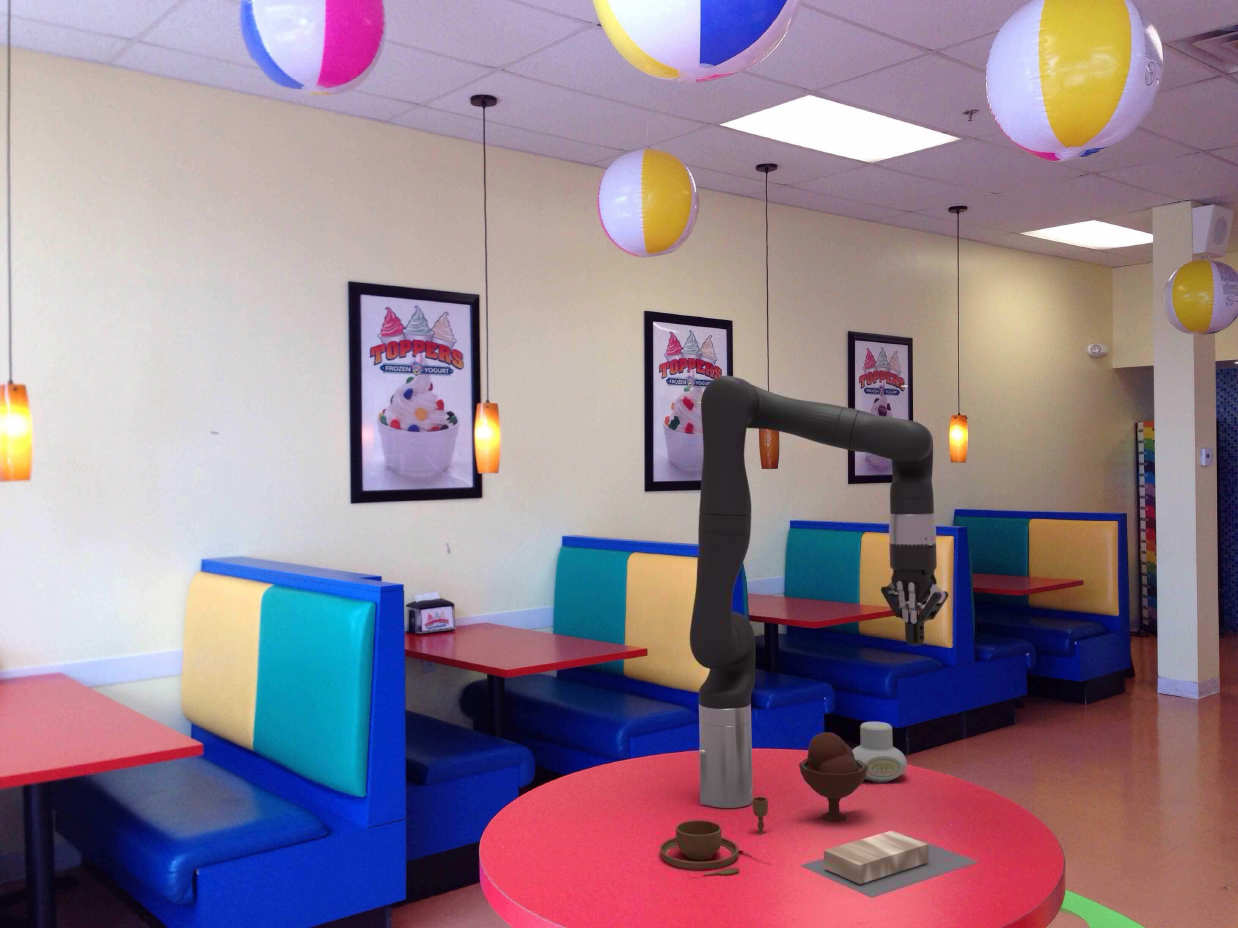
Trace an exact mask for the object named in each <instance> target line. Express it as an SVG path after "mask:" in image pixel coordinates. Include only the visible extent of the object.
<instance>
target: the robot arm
mask: <svg viewBox="0 0 1238 928" xmlns="http://www.w3.org/2000/svg"><path fill="white" fill-rule="evenodd" d="M700 414H701V428H702V432H701V433H702V445H703V447H702V449H703V450H702V451H703V455H702V456H703V457H702V470H701V477H700V478H701V479H700V492H699V493H700V497H699V509H698V510H699V511H698V531H697V532H698V535H697V536H698V539H697V540H698V541H697V542H698V543H697V545H698V547H697V561H696V562H697V564H696V584H695V595H694V600H693V601H694V602H693V608H692V613H691V614H692V615H691V621H690V628H689V646H690V650H691V654H692V656H693V657H694V659H695V661H696V662H697V664H699V665H701V666H702V667H703V668H704V669H705V668H706V669H709V672H708V674H707V677H706V679H705V681H704V682H703V683H702V684H701V686H700V687H699V691H698V721H699V723H698V724H699V725H698V726H699V750H698V765H699V767H698V768H699V770H698V771H699V773H698V774H699V777H698V778H699V804H700V805H701V806H702V805H703V806H709V807H712V808H713V807H714V808H719V809H720V808H721V809H735V808H742V807H745V806H748V805H751V804H753V798H754V795H753V793H754V788H753V787H754V786H753V783H754V782H753V747H752V745H753V740H752V707H751V706H752V703H751V702H752V701H751V698H752V693H753V690H754V687H755V682H756V636H755V632H754V629H753V625H752V624H751V622H750V621H749V619H748V618H747V617H746V616H744V615H743V614H742V613H740V612H738V611H737V612H736V611H733V596H734V590H735V586H736V583H737V579H738V576H739V573H740V571H741V568H742V567H743V564H744V561H745V558H746V556H747V552H748V549H749V547H750V542H751V541H750V540H751V535H752V534H751V530H752V499H751V491H750V483H749V479H748V474H747V469H746V463H745V462H746V461H745V447H746V435H747V429H754V430H755V429H758V430H759V429H760V430H768V431H776V432H781V433H785V434H789V435H793V436H796V437H799V438H803V439H805V440H809V441H811V442H814V443H818V444H820V445H821V444H822V445H826V446H828V447H833V448H838V449H843V450H847V451H853V452H856V453H857V452H858V453H868V454H870V455H875V456H878V457H881V458H885V459H888V460H891V473H892V474H891V476H892V477H891V478H892V481H891V483H890V489H889V508H890V509H889V511H890V514H889V516H890V517H889V525H888V526H889V527H888V537H889V541H888V543H889V545H888V546H889V567H890V569H892V571H893V572H892V575H891V578H890V580H891V581H890V582H889V584H888V585H887V586H882V587H881V588H880V592H881V594H882V596H883V597H884V599H885V601H886V603H887V605H888V606H889V608H890V609H891V611H892V613H893V614H894V616H895V617H896V618H900V619H901V620H902V621H903V623H904V632H905V633H904V635H905V636H904V638H905V642H906V644H907V646H912V647H918V646H922V645H923V643H924V641H925V623H926V622H928V621H932V620H934V619H935V617H936V616H937V615H938V613H939V611H940V610H941V609H942V607H943V605H944V604H945V602H946V601H947V600H948V598H949V593H948V592H947V590H944V591H943V590H941V588H940V587H939V586H938V585H937V584H938V582H937V581H938V580H937V578H936V576H935V570H936V569H937V567H938V566H937V565H938V562H937V561H938V559H937V528H936V527H937V526H936V520H935V511H934V510H935V509H934V508H935V504H934V503H935V501H934V500H935V499H934V488H933V470H934V469H933V468H934V467H933V465H934V464H933V463H934V439H933V435H932V433H931V432H930V430H929V429H928V428H927V427H926V426H925V425H923V424H921V423H919V422H918V421H914V420H909V419H904V418H898V417H891V416H886V415H885V416H884V415H876V414H873V413H871V412H867V411H865V410H860V409H856V408H852V407H846V406H842V405H836V404H830V403H825V402H818V401H810V400H809V401H808V400H805V399H804V400H803V399H797V398H793V397H788V396H785V395H780V394H778V393H774V392H772V391H768V390H766V389H763V388H761V387H759V386H756V385H754V384H752V383H750V382H749V381H747V380H745V379H743V378H739V377H737V376H732V375H721V376H718V377H716V378H713V379H712V380H711V381H710V382H709V383H708V384H707V385H706V387H705V388H704V390H703V392H702V395H701V399H700Z"/></svg>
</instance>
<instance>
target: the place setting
mask: <svg viewBox="0 0 1238 928" xmlns="http://www.w3.org/2000/svg"><path fill="white" fill-rule="evenodd" d="M768 801H769V799H768V798H767V797H765V796H755V797H754V796H753V801H752V810H753V811H752V812H753V814H754V816H756V817H758V818H757V820H758V821H757V828H758V830H757V832H756V834H757V833H758V834H757V835H765V834H766V832H765V831H764V828H765V823H764V818H765V817H767V815H768V811H769V802H768ZM722 836H723V834H722V826H721V825H720V824H718V823H717V822H715V821H710V820H704V819H694V820H693V819H692V820H685V821H682V822H680V823H679V824H677V825H676V826H675V837H671V838H669V839H666V840H665V841H663V842H662V843H661V844H660V846H659V849H660V850H659V852H660V856H661V858H662V859H663V861H665V862H666V863H667V864H668V865H670V864H671V866H673V867H676V866H677V867H676V868H679V867H680V868H679V869H683V868H685V869H684V870H690V869H710V870H713V869H712V868H717V869H720V868H719V867H721V868H722V869H720V870H717V871H713V872H708V873H702V874H703V875H702V874H701V875H702V876H704V877H708V876H714V875H719V874H721V875H720V876H731V875H733V874H737V873H738V872H739V871H740V868H739V867H727V866H728V865H731V864H732V863H733V862H735V861H736V859H737V857H738V856H739V846H738V844H737V843H736V842H734V841H732V840H731V839H729V838H726V837H722ZM677 846H678V847H677ZM720 846H722V847H725V848H726V849H728V850H729V851H730V852H731V854H732V855H731V854H730V855H729V856H727V857H724V858H722V859H716V860H710V861H704V860H709V859H711V858H713V855H714V854H716V853H717V852H718V851H719V850H720V849H721V848H720ZM674 847H677V849H679V850H680V852H682V853H683V854H685V856H686V857H687V858H688V859H690V858H691V860H694V859H696V860H695V861H689V860H683V859H679V858H675V857H672V856H671V855H668V854H667V855H666V852H667V850H669V849H672V848H674ZM710 857H711V858H710ZM726 865H727V866H726ZM723 866H724V867H726V868H723ZM713 874H714V875H713Z"/></svg>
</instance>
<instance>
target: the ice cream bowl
mask: <svg viewBox="0 0 1238 928" xmlns="http://www.w3.org/2000/svg"><path fill="white" fill-rule="evenodd" d="M852 750H853V749H852V747H850V746H849V745H848V744H847V743H846V742H845V741H844V739H842V738H841V737H840V736H839V735H837V734H836V733H835V732H825V731H824V732H821V733H818V734H816V735H814V737H813V738H811V739H810V742H809V744H808V747H807V758H805V759H804V760H802V761H800V762H799V763H798V766H799V772H800V774H801V776H802V778H803V781H804V782H805V783H806V784H807V785H808V786H809V787H810V788H811V789H812V790H813V791H814V792H815V793H817V795H820V796H821V797H824V798H826V799H827V802H828V811H826V812H824V813H822V814H821V815H820V816H818V818H817V821H820V820H823V821H825V822H826V821H827V822H830V823H841V822H846V821H847V820H849V817H848V816H847V815H846V814H844V813H843V812H841V811H840V802H841V799H843V798H847V797H849V796H850V795H851V794H853V793H854V792H855V791H857V789H858V788H859V787H860V786H861V785H862V784H863V783H864V781H865V780H866V779H865V776H866V772H867V767H868V766H866V765H865V764H864V763H863V762H861V761H860V760H855V757H854V753H853V752H852Z"/></svg>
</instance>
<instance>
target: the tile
mask: <svg viewBox="0 0 1238 928" xmlns="http://www.w3.org/2000/svg"><path fill="white" fill-rule="evenodd" d="M905 835H906V834H902V833H899V832H897V831H893V830H889V831H886V832H882V833H878V834H876V835H872V836H868V837H866V838H862V839H858V840H854V841H850V842H847V843H845V844H844V843H843V844H840V845H837V846H833V847H830V848H827V849H824V850H823V858H824V869H827V870H828V871H830V872H832V873H834V874H837V875H839V876H841V877H844V878H846V879H848V880H850V881H853V882H855V883H857V884H859V885H862V884H865V883H868V882H871V881H874V880H877V879H880V878H884V877H887V876H890V875H893V874H896V873H899V872H902V871H905V870H909V869H912V868H915V867H918V866H921V865H924V864H926V863H927V862H929V844H930V843H929V844H927V843H928V842H926V843H924V842H925V841H924V842H922V841H923V840H921V841H919V840H920V839H918V840H916V839H917V838H916V839H913V838H914V837H913V838H911V837H912V836H910V837H908V836H909V835H907V836H905Z"/></svg>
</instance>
